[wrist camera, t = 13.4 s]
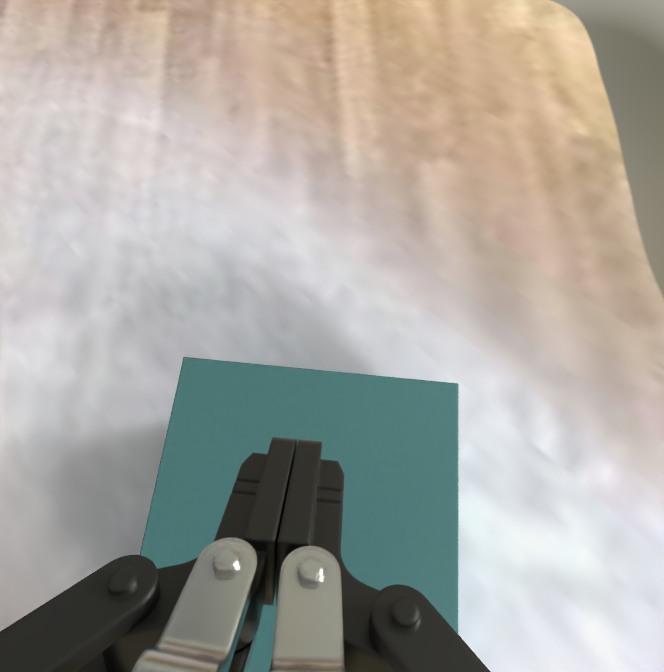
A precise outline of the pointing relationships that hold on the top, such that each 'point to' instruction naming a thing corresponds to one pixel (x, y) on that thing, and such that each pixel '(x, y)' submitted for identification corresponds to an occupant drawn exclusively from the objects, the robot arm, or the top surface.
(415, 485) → the lid
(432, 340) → the top surface
